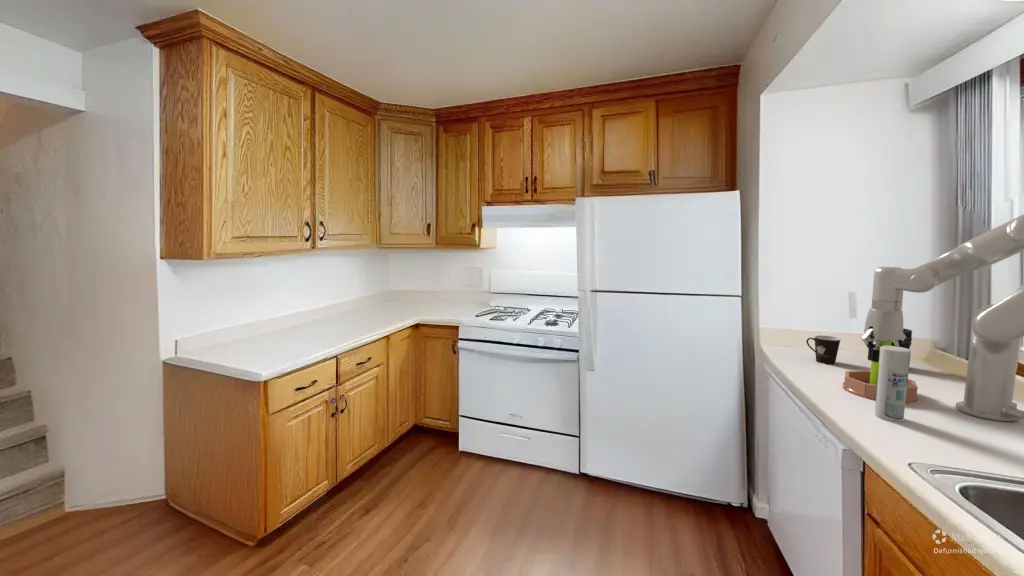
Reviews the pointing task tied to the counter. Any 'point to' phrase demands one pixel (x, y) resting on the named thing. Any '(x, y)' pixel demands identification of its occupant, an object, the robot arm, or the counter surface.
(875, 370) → the soap dispenser
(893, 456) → the counter surface
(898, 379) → the spray can
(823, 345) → the coffee mug
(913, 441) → the counter surface
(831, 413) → the counter surface
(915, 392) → the bowl
